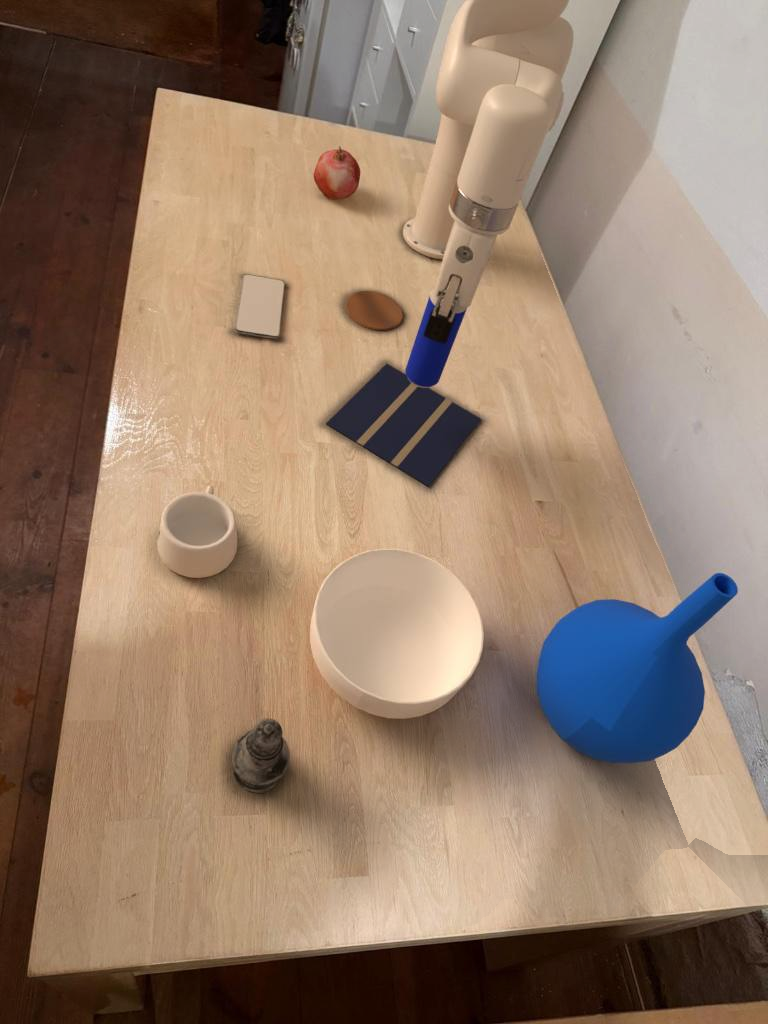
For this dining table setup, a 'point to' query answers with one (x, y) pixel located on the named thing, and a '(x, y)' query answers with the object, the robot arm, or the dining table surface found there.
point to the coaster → (374, 310)
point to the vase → (627, 675)
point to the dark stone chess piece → (260, 757)
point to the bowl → (395, 633)
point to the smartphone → (260, 306)
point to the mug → (197, 534)
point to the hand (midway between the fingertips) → (440, 324)
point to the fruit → (337, 174)
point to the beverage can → (431, 349)
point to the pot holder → (405, 424)
